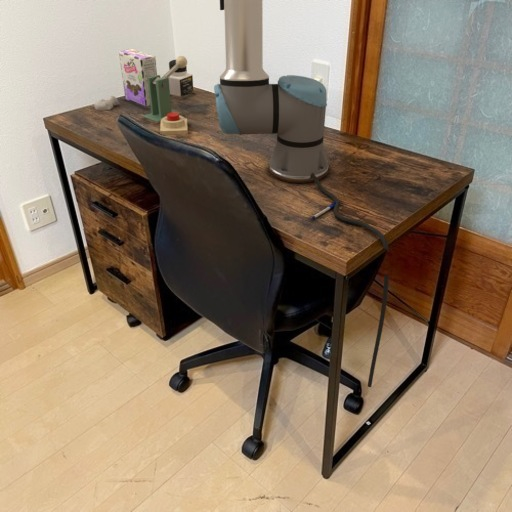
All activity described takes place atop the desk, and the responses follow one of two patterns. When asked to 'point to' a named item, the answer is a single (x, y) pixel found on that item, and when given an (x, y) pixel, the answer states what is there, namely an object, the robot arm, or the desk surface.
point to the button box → (173, 126)
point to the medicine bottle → (180, 81)
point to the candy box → (137, 74)
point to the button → (173, 116)
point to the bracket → (159, 98)
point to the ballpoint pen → (324, 210)
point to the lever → (173, 68)
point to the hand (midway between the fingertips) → (239, 12)
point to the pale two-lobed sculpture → (106, 104)
